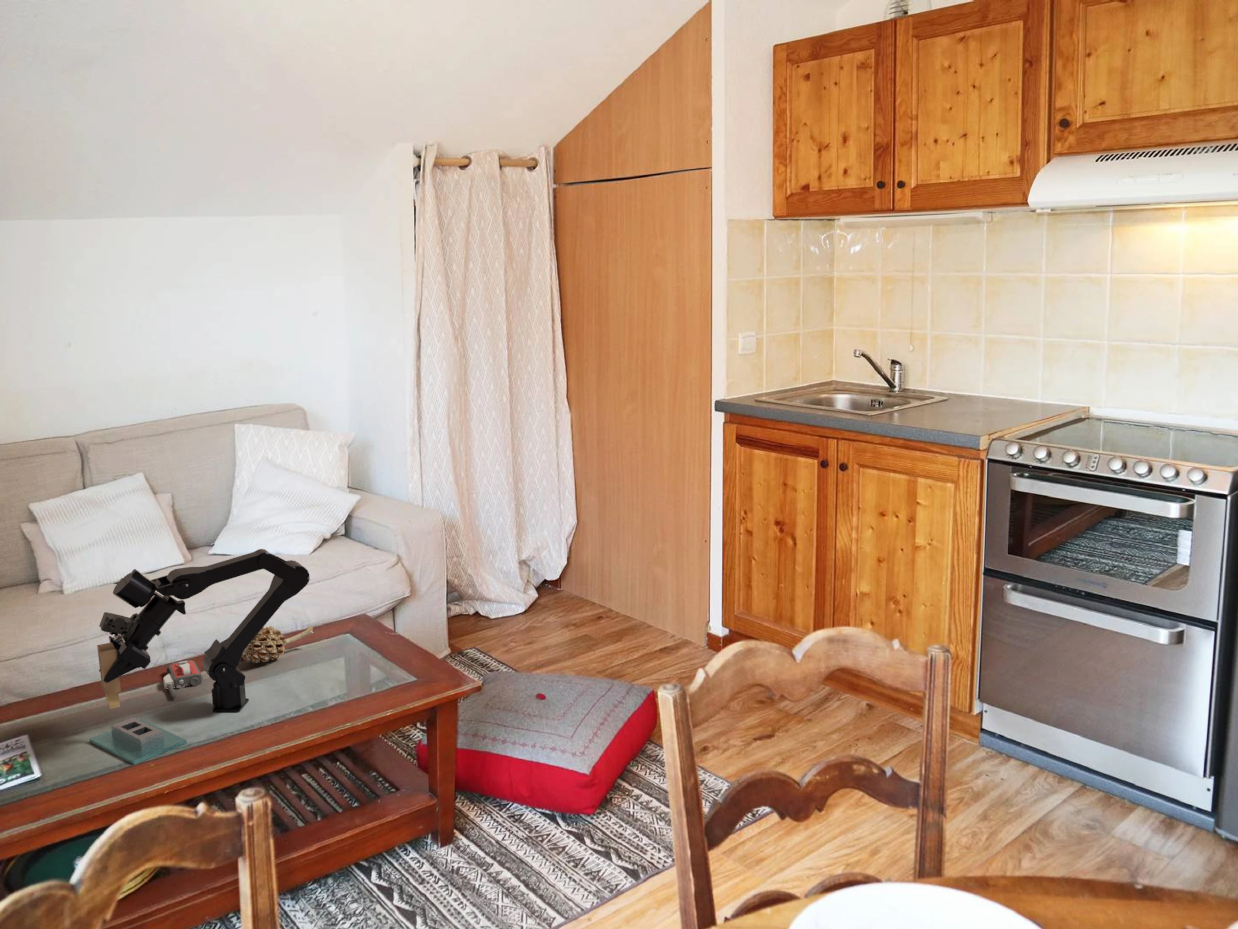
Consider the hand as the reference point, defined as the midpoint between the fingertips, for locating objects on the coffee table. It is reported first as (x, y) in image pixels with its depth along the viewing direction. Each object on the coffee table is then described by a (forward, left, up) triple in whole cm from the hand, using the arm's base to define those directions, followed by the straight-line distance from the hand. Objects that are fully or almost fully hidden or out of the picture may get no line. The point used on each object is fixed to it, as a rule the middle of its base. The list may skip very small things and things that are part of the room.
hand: (102, 676), depth 235 cm
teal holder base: (-8, +4, -13) cm, 16 cm away
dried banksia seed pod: (-22, -46, -14) cm, 52 cm away
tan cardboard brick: (-1, -1, -7) cm, 7 cm away
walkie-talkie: (-4, -28, -14) cm, 32 cm away
